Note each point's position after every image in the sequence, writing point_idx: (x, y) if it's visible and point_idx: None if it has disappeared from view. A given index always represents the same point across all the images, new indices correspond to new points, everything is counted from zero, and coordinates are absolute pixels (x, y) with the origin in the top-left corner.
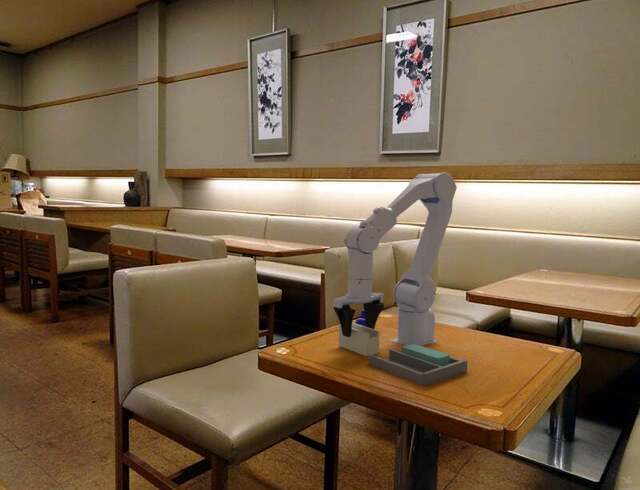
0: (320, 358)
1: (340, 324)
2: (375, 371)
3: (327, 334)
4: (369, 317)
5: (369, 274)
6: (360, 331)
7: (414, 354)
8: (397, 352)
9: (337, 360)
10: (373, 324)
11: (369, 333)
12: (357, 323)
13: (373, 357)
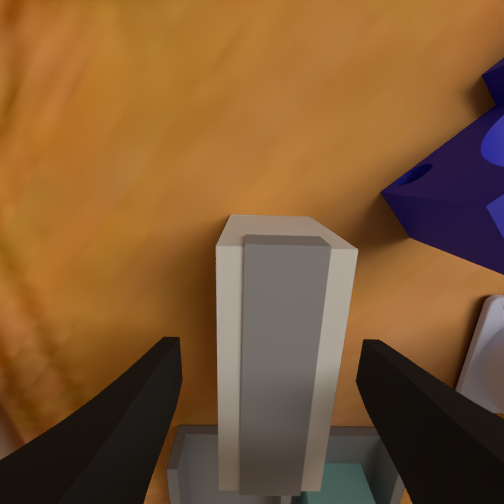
0: (70, 279)
1: (113, 383)
2: (168, 458)
3: None
4: (422, 450)
5: None
6: (218, 448)
7: None
8: (281, 498)
9: (121, 332)
10: (382, 439)
11: (237, 488)
12: (459, 203)
13: (169, 484)
